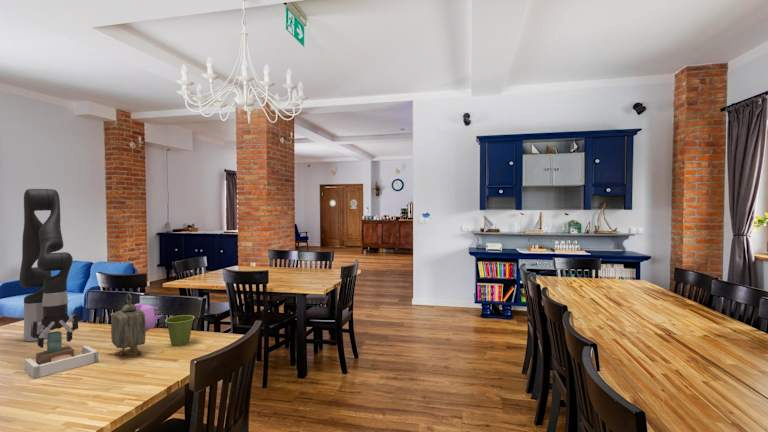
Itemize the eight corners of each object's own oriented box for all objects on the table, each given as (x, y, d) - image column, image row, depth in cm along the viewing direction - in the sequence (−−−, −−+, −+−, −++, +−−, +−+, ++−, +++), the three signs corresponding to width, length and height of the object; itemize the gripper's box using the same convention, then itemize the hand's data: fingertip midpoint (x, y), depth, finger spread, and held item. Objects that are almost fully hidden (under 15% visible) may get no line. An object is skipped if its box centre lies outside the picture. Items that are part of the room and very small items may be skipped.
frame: (24, 370, 142) (24, 359, 142) (86, 354, 157) (86, 345, 157) (34, 378, 134) (34, 367, 134) (98, 361, 150) (98, 351, 150)
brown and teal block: (36, 363, 149) (36, 334, 149) (68, 355, 157) (68, 328, 157) (41, 367, 145) (41, 338, 145) (74, 359, 153) (74, 331, 153)
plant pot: (158, 345, 168) (158, 320, 168) (182, 337, 179) (182, 314, 179) (178, 349, 164) (178, 323, 164) (200, 341, 175) (200, 316, 175)
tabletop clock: (145, 355, 157) (145, 294, 157) (119, 361, 151) (119, 298, 151) (135, 346, 167) (135, 289, 167) (110, 352, 161) (110, 292, 160)
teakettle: (164, 323, 203) (164, 300, 203) (143, 333, 186) (143, 308, 186) (132, 323, 204) (132, 300, 204) (108, 333, 187) (108, 307, 187)
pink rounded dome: (48, 366, 146) (48, 358, 146) (68, 361, 151) (68, 353, 151) (54, 369, 143) (54, 361, 143) (74, 364, 148) (74, 356, 148)
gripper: (74, 298, 159) (74, 337, 159) (28, 305, 147) (28, 347, 147) (80, 301, 154) (80, 341, 155) (34, 308, 143) (34, 351, 143)
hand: (55, 344), depth 151 cm, fingers open, 8 cm apart
